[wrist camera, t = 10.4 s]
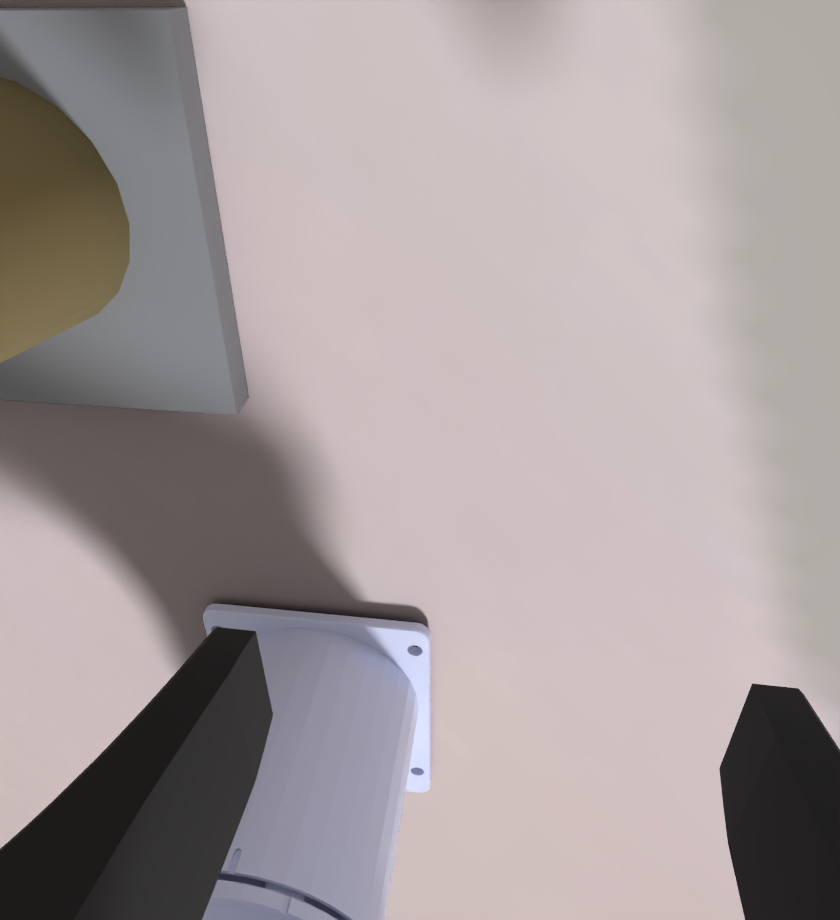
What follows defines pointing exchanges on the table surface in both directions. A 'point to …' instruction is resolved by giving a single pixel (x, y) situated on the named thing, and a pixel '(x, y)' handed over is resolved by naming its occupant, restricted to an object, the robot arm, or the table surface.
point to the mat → (135, 214)
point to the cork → (53, 223)
